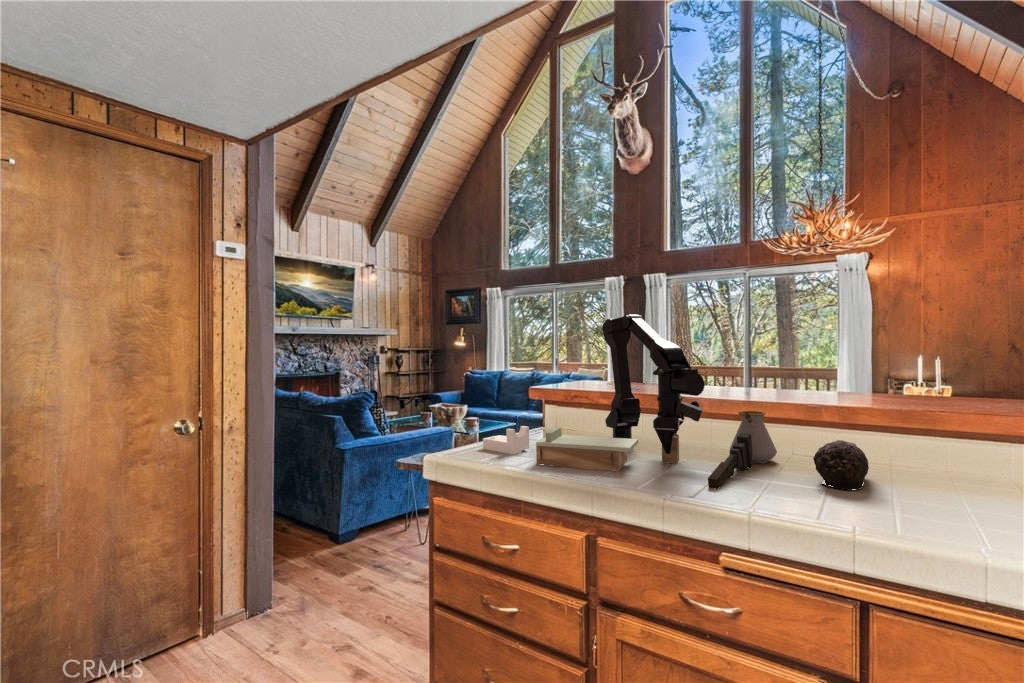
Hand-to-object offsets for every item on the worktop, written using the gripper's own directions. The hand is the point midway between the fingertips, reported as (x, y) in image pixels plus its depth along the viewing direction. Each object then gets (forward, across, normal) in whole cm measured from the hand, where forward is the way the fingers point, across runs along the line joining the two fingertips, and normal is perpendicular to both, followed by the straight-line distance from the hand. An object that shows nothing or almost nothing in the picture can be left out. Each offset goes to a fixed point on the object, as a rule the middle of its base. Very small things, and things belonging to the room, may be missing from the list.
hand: (670, 450), depth 142 cm
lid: (-2, -9, +21) cm, 22 cm away
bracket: (+4, 0, +49) cm, 49 cm away
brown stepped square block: (+3, 0, 0) cm, 3 cm away
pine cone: (+3, -8, -38) cm, 39 cm away
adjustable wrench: (+4, -12, -15) cm, 19 cm away
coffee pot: (+3, +3, -20) cm, 20 cm away
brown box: (+3, -9, +22) cm, 24 cm away
